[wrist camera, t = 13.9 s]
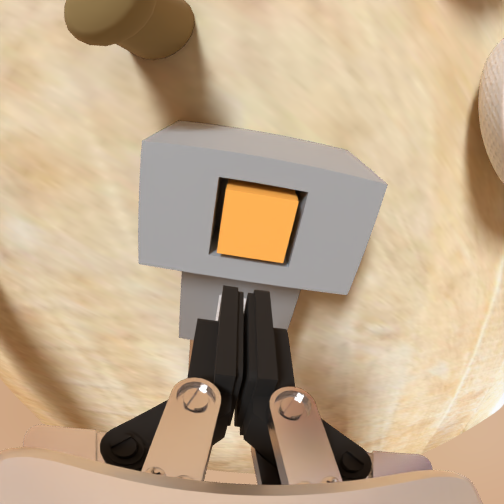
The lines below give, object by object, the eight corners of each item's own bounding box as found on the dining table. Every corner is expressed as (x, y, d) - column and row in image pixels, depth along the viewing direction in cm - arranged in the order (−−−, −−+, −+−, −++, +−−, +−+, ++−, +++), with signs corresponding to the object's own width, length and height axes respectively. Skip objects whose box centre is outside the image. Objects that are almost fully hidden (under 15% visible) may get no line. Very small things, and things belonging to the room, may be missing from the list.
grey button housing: (170, 209, 28) (138, 263, 20) (178, 120, 24) (142, 141, 16) (330, 235, 29) (355, 296, 21) (354, 152, 25) (396, 186, 17)
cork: (208, 33, 20) (174, 0, 11) (144, 73, 22) (75, 75, 12) (172, -19, 18) (121, -70, 8) (111, 22, 19) (33, 2, 10)
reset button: (222, 224, 22) (216, 253, 19) (231, 169, 20) (225, 189, 17) (279, 233, 23) (283, 263, 19) (291, 179, 21) (298, 201, 17)
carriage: (187, 305, 31) (165, 392, 22) (193, 233, 27) (163, 315, 18) (277, 318, 32) (283, 407, 22) (297, 249, 28) (315, 336, 19)
